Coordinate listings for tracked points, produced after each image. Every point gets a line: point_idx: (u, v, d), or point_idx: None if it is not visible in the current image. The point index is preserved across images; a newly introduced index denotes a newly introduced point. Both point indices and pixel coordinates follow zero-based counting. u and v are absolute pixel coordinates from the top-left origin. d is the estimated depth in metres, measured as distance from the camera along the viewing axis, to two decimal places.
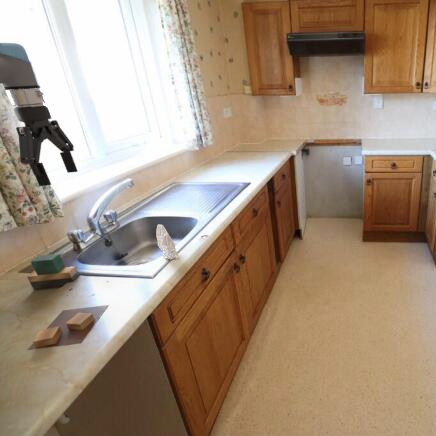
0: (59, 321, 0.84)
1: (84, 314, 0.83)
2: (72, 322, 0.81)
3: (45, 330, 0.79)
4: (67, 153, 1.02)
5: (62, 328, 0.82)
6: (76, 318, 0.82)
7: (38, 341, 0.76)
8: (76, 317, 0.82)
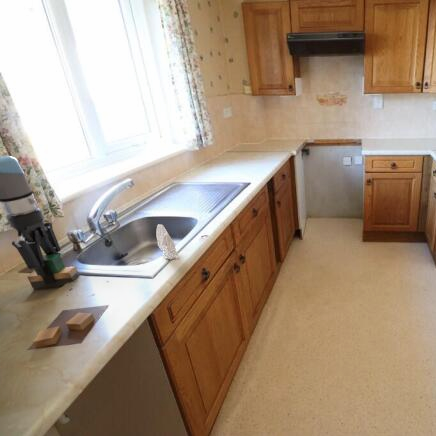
0: (59, 321, 0.84)
1: (84, 314, 0.83)
2: (72, 322, 0.81)
3: (45, 330, 0.79)
4: None
5: (62, 328, 0.82)
6: (76, 318, 0.82)
7: (38, 341, 0.76)
8: (76, 317, 0.82)
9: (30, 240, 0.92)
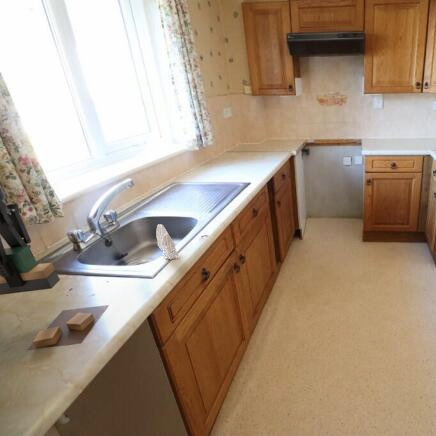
0: (59, 321, 0.84)
1: (84, 314, 0.83)
2: (72, 322, 0.81)
3: (45, 330, 0.79)
4: None
5: (62, 328, 0.82)
6: (76, 318, 0.82)
7: (38, 341, 0.76)
8: (76, 317, 0.82)
9: None
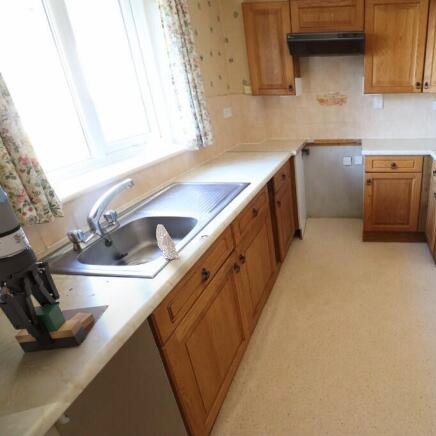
0: None
1: (84, 314, 0.83)
2: None
3: None
4: None
5: None
6: (76, 318, 0.82)
7: None
8: (76, 317, 0.82)
9: (17, 291, 0.67)
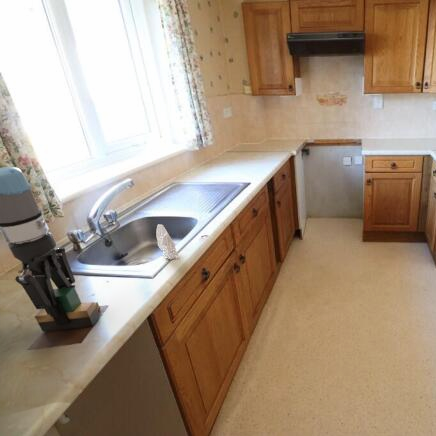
0: None
1: None
2: None
3: None
4: None
5: None
6: None
7: None
8: None
9: (38, 273, 0.73)
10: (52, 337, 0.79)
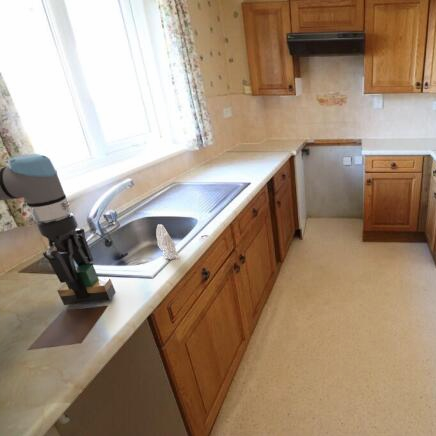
0: (59, 321, 0.84)
1: None
2: None
3: None
4: None
5: (62, 328, 0.82)
6: None
7: None
8: None
9: (62, 250, 0.81)
10: (52, 337, 0.79)
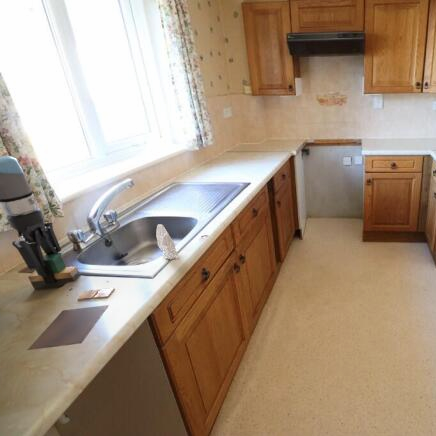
0: (59, 321, 0.84)
1: (107, 289, 0.95)
2: (99, 296, 0.92)
3: (88, 291, 0.95)
4: None
5: (62, 328, 0.82)
6: (101, 293, 0.94)
7: (81, 299, 0.92)
8: (100, 292, 0.94)
9: (30, 240, 0.93)
10: (52, 337, 0.79)
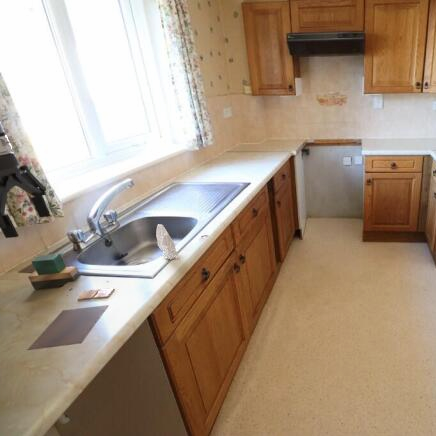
0: (59, 321, 0.84)
1: (107, 289, 0.95)
2: (99, 296, 0.92)
3: (88, 291, 0.95)
4: (38, 198, 0.97)
5: (62, 328, 0.82)
6: (101, 293, 0.94)
7: (81, 299, 0.92)
8: (100, 292, 0.94)
9: (3, 186, 0.85)
10: (52, 337, 0.79)
